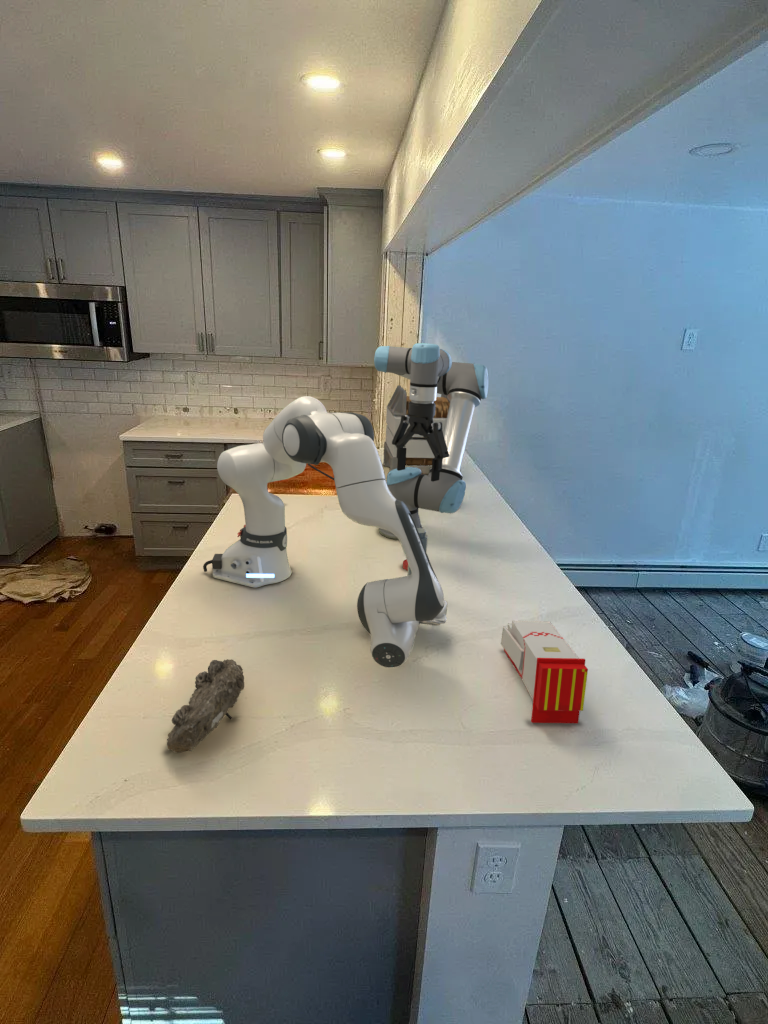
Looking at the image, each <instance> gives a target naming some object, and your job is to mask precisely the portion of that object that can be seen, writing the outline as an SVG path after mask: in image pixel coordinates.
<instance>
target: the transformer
mask: <svg viewBox="0 0 768 1024" xmlns="http://www.w3.org/2000/svg"><path fill="white" fill-rule="evenodd" d="M407 394H408V393H407V390H406V389H404V388H403V387H402V385H399V384H398V385H397V386H396V388H395V390H394V392H393V394H392V395H391V398H390V400H389V402H388V404H387V405H386V413H385V414H386V415H385V423H386V428H385V438H384V442H383V463H382V465H383V466H384V467H388V468H389V472H390V471H391V470H393V469H397V462H398V458H397V448H396V446H395V445H393V444H392V440H393V438H394V436H395V434H396V431H397V429H398V427H399V425H400V421H401V416H403V415H409V414H408V409H409V402H410V401H411V400H410V399H409V395H407ZM447 396H448V395H442V394H440V396H436V401H434V403H435V404H436V408H435V416H434V417H433V422H435V423H437V422H442V431H444V427H445V423H446V419H447V415H448V410H449V406H450V401H449V400H448V398H447ZM409 416H410V415H409ZM409 426H410V424H409V425H408V427H407V429H408V428H409ZM407 429H406V430H407ZM406 432H407V431H405V433H406ZM405 433H404V434H405ZM428 434H430V433H428ZM405 446H406V447H403V448H406V465H405V466H406V467H417V466H418V467H431V466H432V459H433V458H435V457H434V455H433V453H432V450H431V448H430V446H429V444H428V442H427V440H426V439H425V438H424V437H423V436H421V435H419V434H414V435H413V436H412V437H411V439H410V440H409V441H408V442H407V444H406V445H405ZM460 472H462V467H461V468H460Z"/></svg>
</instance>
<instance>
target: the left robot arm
mask: <svg viewBox="0 0 768 1024" xmlns="http://www.w3.org/2000/svg"><path fill="white" fill-rule="evenodd" d="M320 463H326V464H327V465H329V466H330V468H331V470H332V474H333V478H334V480H335V481H334V480H333V481H334V486H335V491H336V496H337V497H336V498H337V500H338V504H339V507H340V510H341V512H342V513H343V514H344V516H346V518H347V519H349V520H350V521H352V522H354V523H356V524H358V525H362V526H366V527H372V528H378V529H379V528H381V529H385V530H388V531H390V532H392V533H393V534H394V535H396V537H397V538H398V539H399V540H398V541H399V543H400V545H401V548H402V551H403V553H404V556H405V560H406V559H407V561H408V564H409V567H410V569H411V572H412V574H411V575H409V576H407V575H405V576H400V577H395V578H394V577H393V578H386V579H385V578H384V579H378V580H374V581H368V582H366V583H365V584H364V585H363V587H362V588H361V590H360V591H359V595H358V597H357V601H356V611H357V616H358V619H359V621H360V624H361V626H362V627H363V628H364V630H365V631H366V632H367V633H368V635H370V654H371V657H372V659H373V661H374V662H375V663H376V664H378V665H379V666H381V667H384V668H391V669H393V668H397V667H400V666H402V665H403V664H405V663H406V661H407V660H408V659H409V657H410V655H411V653H412V650H413V648H414V645H415V641H416V636H417V633H418V630H419V626H420V624H421V625H427V626H440V625H442V624H443V625H444V624H446V622H447V618H448V617H447V612H448V601H446V600H445V593H444V590H443V588H442V585H441V583H440V581H439V579H438V577H437V575H436V573H435V571H434V568H433V566H432V563H431V561H430V558H429V556H428V553H427V552H426V551H425V548H424V545H423V543H422V540H421V538H420V535H419V532H418V530H417V527H416V525H415V523H414V520H413V518H412V516H411V513H410V511H409V510H408V508H407V506H406V505H405V504H404V502H402V501H399V500H396V499H395V497H394V496H393V495H392V494H391V492H390V490H389V488H388V486H387V483H386V482H387V477H386V475H385V471H384V467H383V466H384V465H383V463H382V459H381V457H380V454H379V451H378V449H377V445H376V444H375V431H374V427H373V424H372V422H371V420H370V419H369V418H368V417H366V415H363V414H361V413H357V412H352V411H351V412H350V411H349V412H346V411H344V412H343V411H341V412H328V411H327V408H326V406H325V404H323V402H321V401H320V400H319V399H317V398H315V397H313V396H310V395H303V396H299V397H298V398H296V399H295V400H292V401H291V402H290V403H288V404H287V405H286V406H285V407H283V408H282V410H280V411H279V412H278V414H276V416H275V417H274V418H273V420H272V421H270V423H269V424H268V425H267V426H266V427H265V429H264V431H263V434H262V442H258V443H252V444H242V445H238V446H234V447H232V448H228V449H226V450H224V451H222V452H221V453H220V455H219V457H218V459H217V463H216V470H217V473H218V476H219V478H220V480H221V481H222V482H223V483H224V484H225V485H226V486H228V487H230V488H231V489H232V490H234V491H235V493H237V494H238V496H239V497H240V500H241V502H242V505H243V509H244V510H243V511H244V523H245V524H244V525H243V527H242V528H240V530H239V531H238V533H237V538H240V539H238V540H237V541H235V542H234V543H233V544H231V545H229V546H228V547H227V548H226V549H225V550H224V551H223V552H222V553H214V554H213V557H212V559H210V560H207V561H205V562H204V564H203V565H202V569H203V572H204V573H208V567H207V566H209V565H210V564H211V569H212V578H215V579H218V580H222V581H225V582H226V581H227V582H230V583H234V584H238V585H242V586H246V587H250V588H255V589H256V588H260V587H263V586H266V585H272V584H277V583H280V582H283V581H285V580H287V579H288V578H290V577H291V575H292V573H293V572H292V568H291V565H290V562H289V557H288V550H287V547H288V530H287V529H288V528H287V527H286V505H285V503H284V500H283V499H281V498H280V496H278V495H277V494H274V493H271V492H270V491H269V490H268V489H269V488H268V485H269V483H274V482H279V481H283V480H289V479H291V478H294V477H296V476H298V475H300V474H302V473H303V472H304V471H305V469H306V467H307V465H308V464H310V465H315V466H318V465H319V464H320Z"/></svg>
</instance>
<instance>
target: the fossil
mask: <svg viewBox="0 0 768 1024" xmlns="http://www.w3.org/2000/svg"><path fill="white" fill-rule="evenodd" d="M243 670H244V669H243V667H242V665H240V664H237V662H236V661H235V660H234V659H232V658H231V659H227V658H226V659H224V660H223V661H222V660H217V659H212V660H211V661H210V663H209V665H208V666H207V671H201V672H199V673H198V674H197V675H196V676H195V680H194V684H195V685H194V687H195V689H194V690H193V693H192V694H191V697H190V698H189V700H188V704H184V705H182V706H181V707H180V709H177V710H176V711H175V713H174V715H173V716H172V718H171V723H172V724H173V727H172V730H171V731H170V732H168V734H167V738H166V741H167V742H166V745H167V749H168V750H169V751H173V752H174V753H176V754H178V753H182V752H188V751H189V752H192V751H193V750H195V748H196V747H197V746H199V744H200V743H201V742H203V741H204V740H205V739H206V738H207V737H208V736H209V735H210V734H211V733H212V732H214V730H215V729H217V727H218V726H219V724H220V722H221V721H222V720H223V719H224V718H225V716H226V717H227V719H229V720H233V717H232V715H230V714H229V710H230V709H231V708H234V706H235V704H236V703H237V702H238V699H239V697H240V695H241V693H242V691H243V690H245V689H244V688H245V675H244V671H243Z"/></svg>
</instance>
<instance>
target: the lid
mask: <svg viewBox="0 0 768 1024" xmlns="http://www.w3.org/2000/svg"><path fill="white" fill-rule="evenodd" d="M402 569H403V570H405V571H407V572H408V561H407V559H406V558H405V559H404V560H403V561H402Z"/></svg>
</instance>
